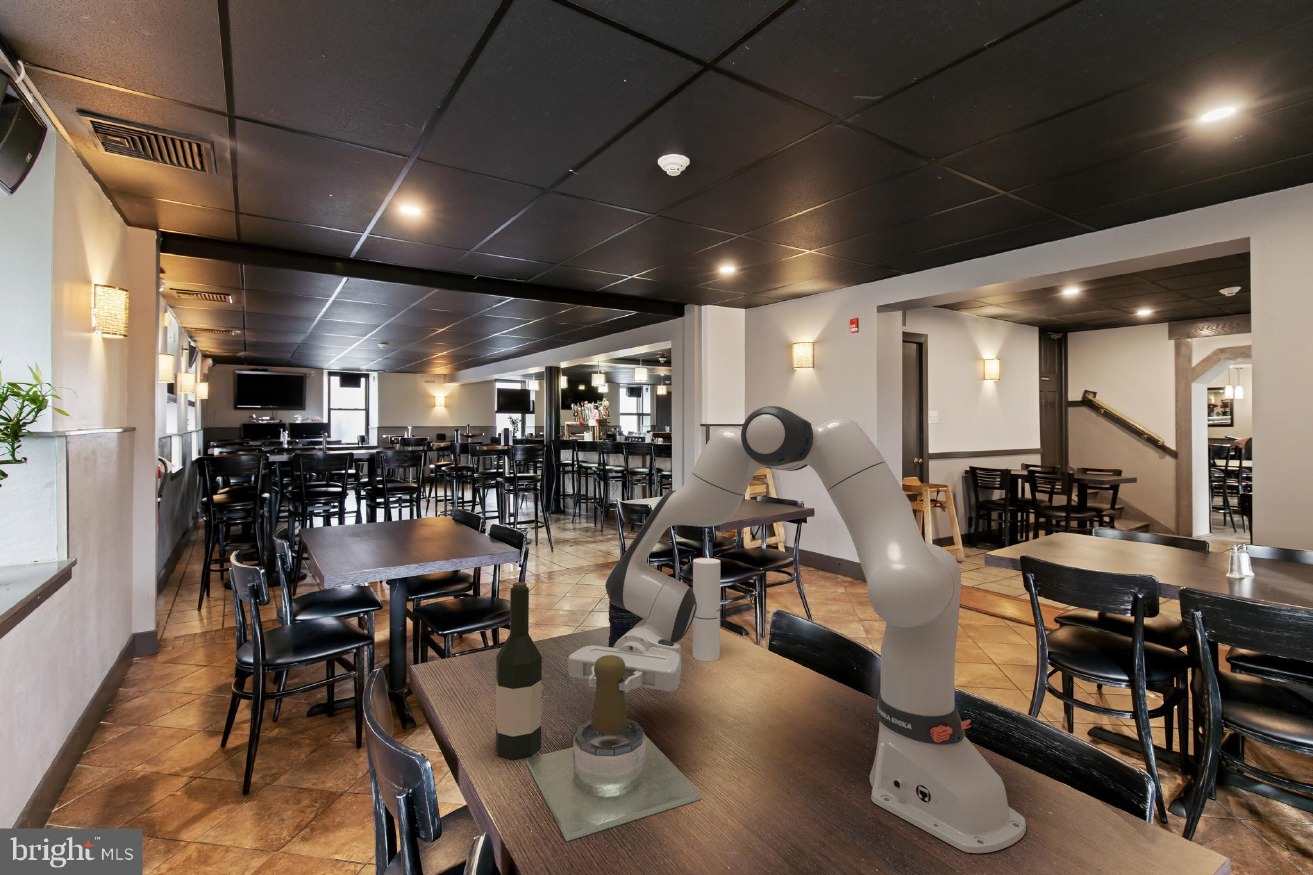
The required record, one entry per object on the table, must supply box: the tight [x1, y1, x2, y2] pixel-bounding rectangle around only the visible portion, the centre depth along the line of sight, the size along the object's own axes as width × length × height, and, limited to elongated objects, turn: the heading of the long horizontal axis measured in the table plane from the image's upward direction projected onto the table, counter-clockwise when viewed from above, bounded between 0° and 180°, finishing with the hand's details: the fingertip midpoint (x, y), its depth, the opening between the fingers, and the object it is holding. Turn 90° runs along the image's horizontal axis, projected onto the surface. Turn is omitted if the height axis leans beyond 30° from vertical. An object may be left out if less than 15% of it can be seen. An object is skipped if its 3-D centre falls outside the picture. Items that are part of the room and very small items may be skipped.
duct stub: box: [526, 718, 702, 842], centre depth 97 cm, size 22×22×8 cm
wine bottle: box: [495, 581, 543, 761], centre depth 107 cm, size 8×8×30 cm
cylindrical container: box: [692, 557, 721, 662], centre depth 154 cm, size 7×7×25 cm
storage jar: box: [607, 599, 643, 648], centre depth 152 cm, size 10×10×15 cm
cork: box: [591, 655, 628, 733], centre depth 97 cm, size 6×6×11 cm
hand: (607, 685), depth 97 cm, fingers closed on cork, 4 cm apart
